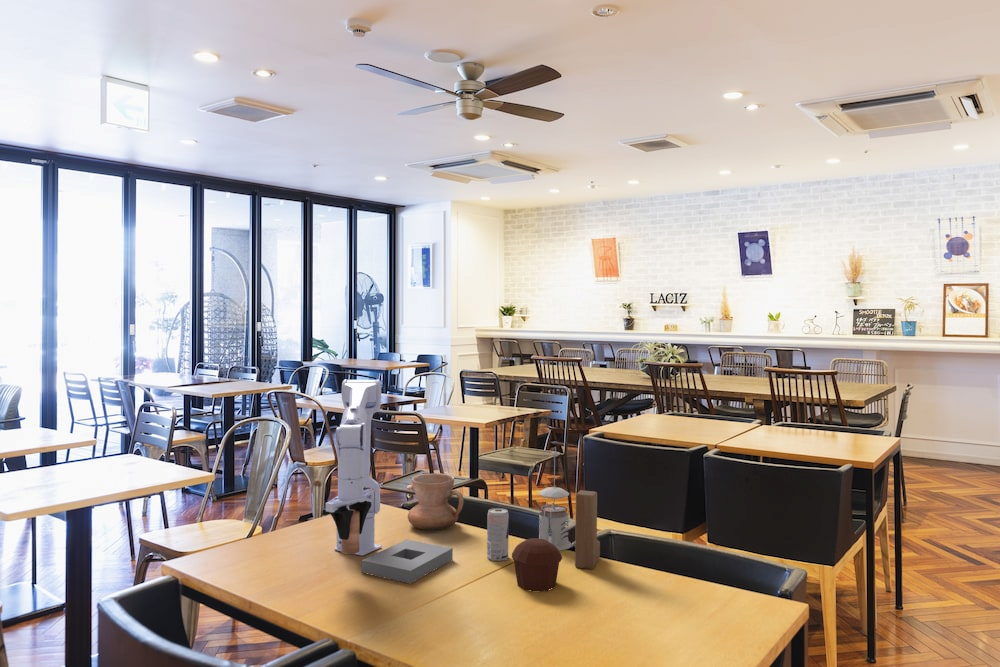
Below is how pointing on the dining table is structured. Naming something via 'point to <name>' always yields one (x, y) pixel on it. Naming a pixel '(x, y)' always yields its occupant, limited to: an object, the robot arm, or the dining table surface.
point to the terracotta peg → (352, 535)
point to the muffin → (536, 564)
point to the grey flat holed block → (407, 560)
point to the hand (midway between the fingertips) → (350, 536)
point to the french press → (554, 517)
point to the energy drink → (497, 534)
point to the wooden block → (586, 530)
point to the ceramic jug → (434, 502)
